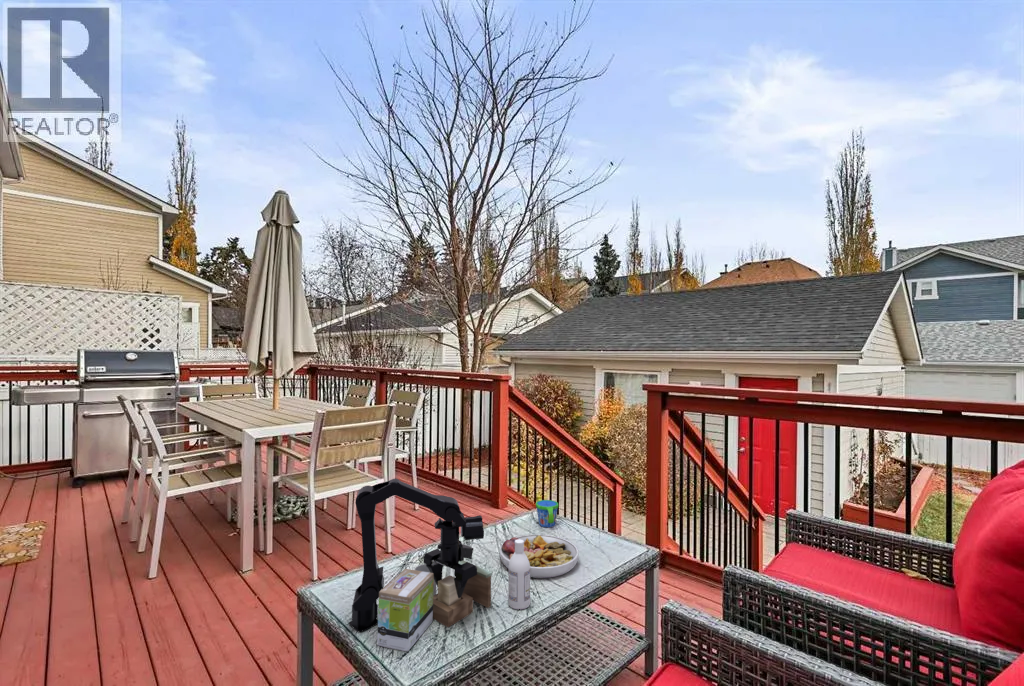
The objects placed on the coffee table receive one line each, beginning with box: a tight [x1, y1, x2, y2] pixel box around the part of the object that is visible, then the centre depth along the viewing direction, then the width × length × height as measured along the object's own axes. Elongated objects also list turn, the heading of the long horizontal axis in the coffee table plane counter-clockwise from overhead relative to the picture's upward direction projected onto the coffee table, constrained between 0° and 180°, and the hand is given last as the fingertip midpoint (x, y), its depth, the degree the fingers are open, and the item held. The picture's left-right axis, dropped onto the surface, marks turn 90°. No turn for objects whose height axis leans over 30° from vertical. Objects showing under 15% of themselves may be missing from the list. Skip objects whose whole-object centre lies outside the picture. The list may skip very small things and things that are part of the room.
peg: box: [437, 575, 461, 606], centre depth 141 cm, size 5×5×10 cm
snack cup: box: [535, 499, 559, 528], centre depth 214 cm, size 16×10×10 cm
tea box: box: [376, 568, 434, 652], centre depth 131 cm, size 15×10×15 cm
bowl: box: [499, 534, 579, 579], centre depth 176 cm, size 30×30×8 cm
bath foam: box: [507, 539, 531, 610], centre depth 146 cm, size 7×7×20 cm
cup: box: [413, 563, 437, 596], centre depth 152 cm, size 7×10×9 cm
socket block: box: [433, 559, 493, 628], centre depth 143 cm, size 16×15×11 cm
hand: (449, 592), depth 141 cm, fingers open, 9 cm apart
